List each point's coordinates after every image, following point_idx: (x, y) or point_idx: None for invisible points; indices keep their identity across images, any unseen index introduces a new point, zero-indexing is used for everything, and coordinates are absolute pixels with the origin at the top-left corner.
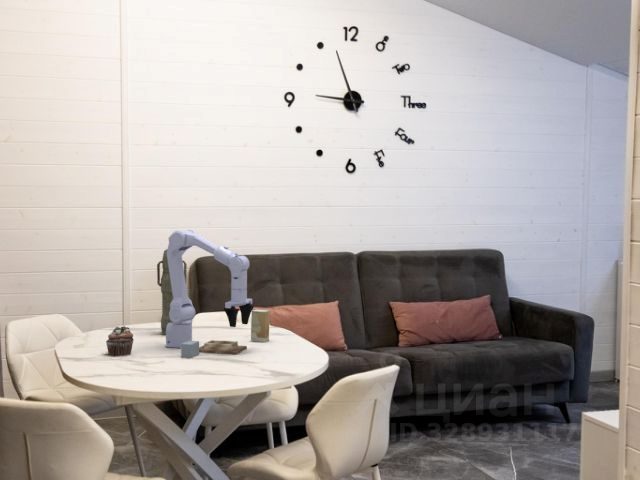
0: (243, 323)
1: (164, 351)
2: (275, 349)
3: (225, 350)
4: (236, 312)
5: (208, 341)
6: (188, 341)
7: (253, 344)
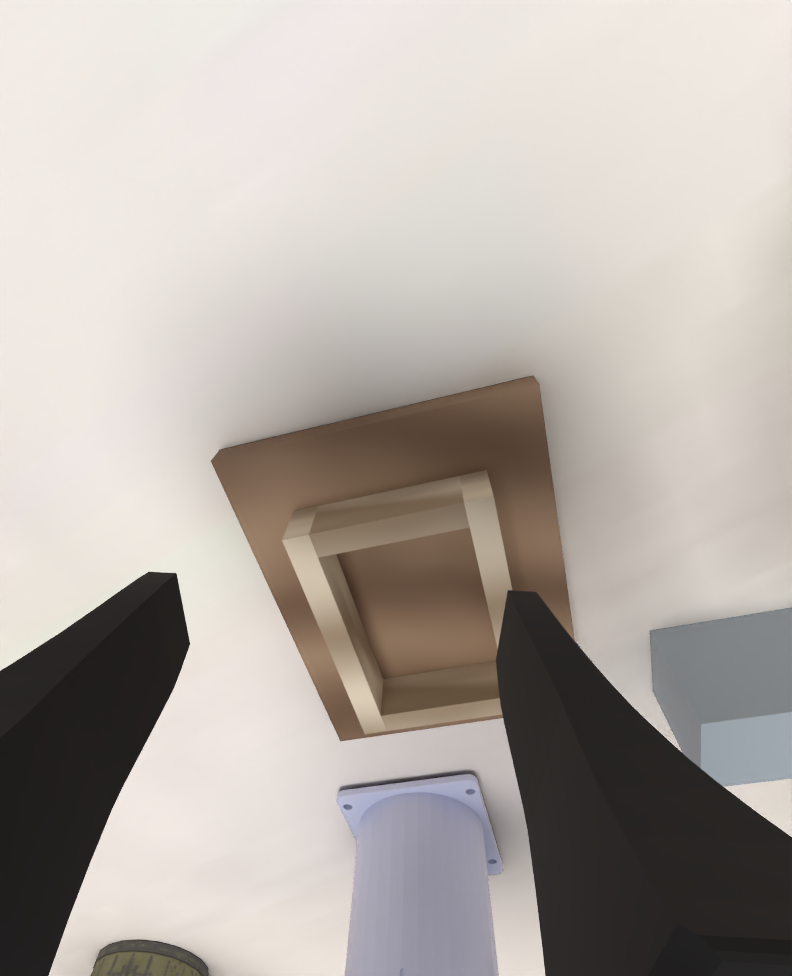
0: (182, 630)
1: None
2: (33, 136)
3: (521, 508)
4: (716, 836)
5: (435, 723)
6: (742, 775)
7: (20, 503)
